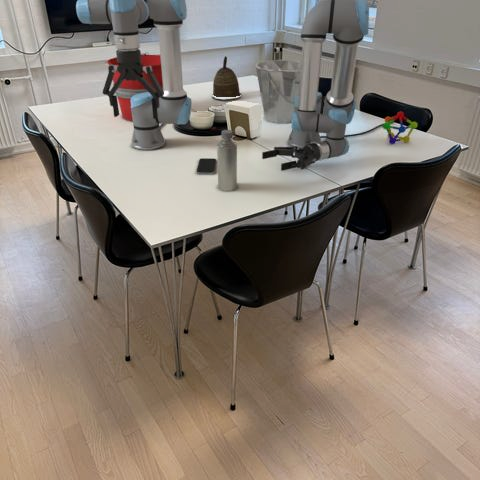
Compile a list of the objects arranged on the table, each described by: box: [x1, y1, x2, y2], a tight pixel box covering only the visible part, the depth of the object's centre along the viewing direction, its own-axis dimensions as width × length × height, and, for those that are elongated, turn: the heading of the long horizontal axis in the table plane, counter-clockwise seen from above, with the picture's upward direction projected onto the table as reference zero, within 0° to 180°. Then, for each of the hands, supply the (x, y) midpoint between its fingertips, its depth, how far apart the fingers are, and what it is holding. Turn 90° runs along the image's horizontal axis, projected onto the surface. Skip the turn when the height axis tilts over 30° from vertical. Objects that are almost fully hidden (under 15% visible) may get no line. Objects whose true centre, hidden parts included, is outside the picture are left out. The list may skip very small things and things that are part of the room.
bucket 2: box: [255, 59, 301, 124], centre depth 236 cm, size 30×30×28 cm
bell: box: [212, 56, 242, 97], centre depth 278 cm, size 19×26×20 cm
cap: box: [220, 129, 233, 139], centre depth 157 cm, size 4×4×2 cm
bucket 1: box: [103, 52, 163, 122], centre depth 240 cm, size 35×35×30 cm
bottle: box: [216, 138, 238, 192], centre depth 163 cm, size 7×7×21 cm
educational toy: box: [382, 110, 418, 145], centre depth 207 cm, size 16×13×15 cm
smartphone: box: [196, 157, 217, 175], centre depth 184 cm, size 7×1×15 cm
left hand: (136, 116), depth 150 cm, fingers open, 13 cm apart
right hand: (271, 161), depth 172 cm, fingers open, 13 cm apart
